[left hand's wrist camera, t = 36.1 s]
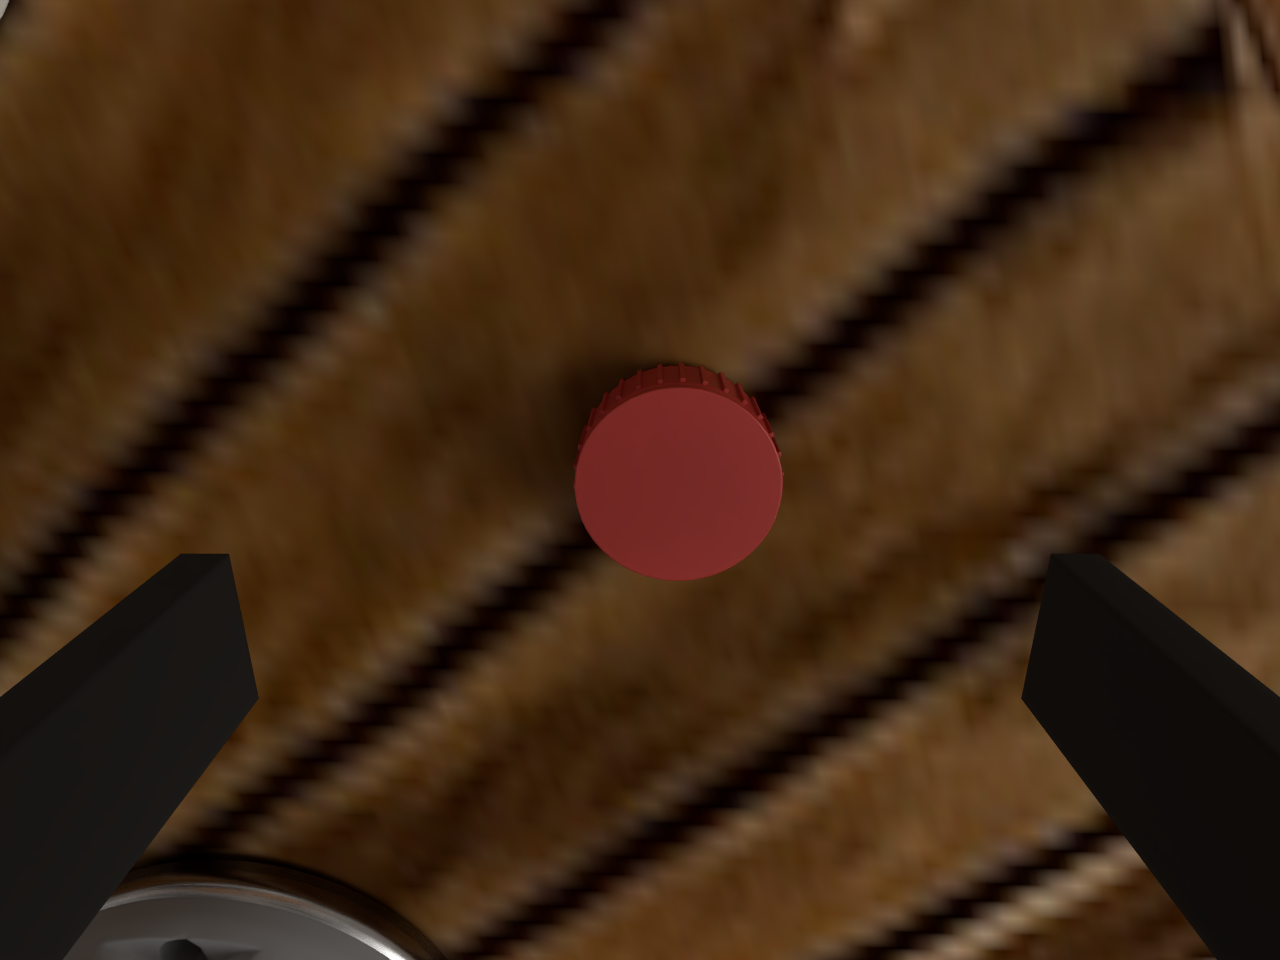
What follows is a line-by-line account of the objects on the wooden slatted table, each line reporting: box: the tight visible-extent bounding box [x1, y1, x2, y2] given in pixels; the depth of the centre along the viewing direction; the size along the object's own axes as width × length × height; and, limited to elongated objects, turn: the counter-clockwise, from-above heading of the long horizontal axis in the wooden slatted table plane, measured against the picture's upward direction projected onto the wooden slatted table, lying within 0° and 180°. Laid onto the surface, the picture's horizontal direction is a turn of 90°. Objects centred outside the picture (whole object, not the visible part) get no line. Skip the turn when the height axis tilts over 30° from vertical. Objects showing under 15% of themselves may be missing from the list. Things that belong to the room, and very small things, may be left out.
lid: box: [573, 363, 783, 581], centre depth 18 cm, size 5×5×2 cm
